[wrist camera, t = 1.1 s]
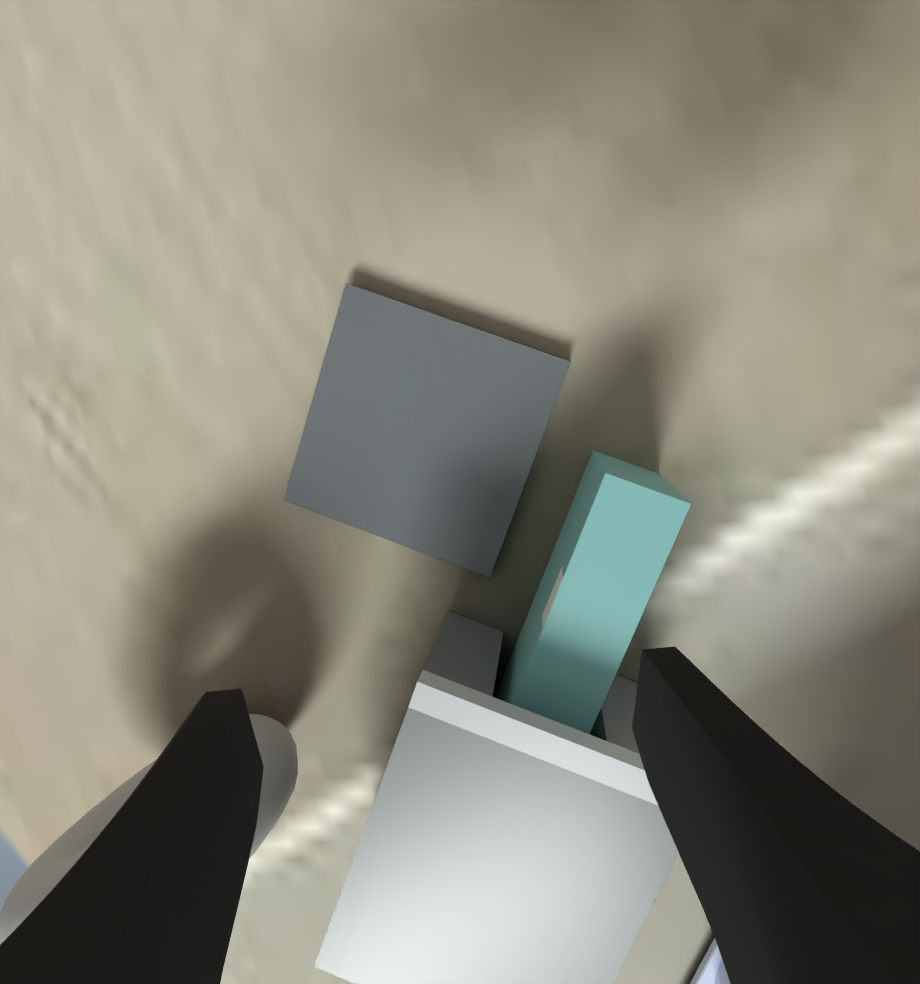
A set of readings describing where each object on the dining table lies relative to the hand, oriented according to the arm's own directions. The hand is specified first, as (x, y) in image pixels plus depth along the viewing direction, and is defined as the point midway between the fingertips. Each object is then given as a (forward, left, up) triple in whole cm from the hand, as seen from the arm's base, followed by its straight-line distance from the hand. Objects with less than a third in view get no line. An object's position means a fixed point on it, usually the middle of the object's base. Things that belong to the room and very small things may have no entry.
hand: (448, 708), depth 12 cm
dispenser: (-3, +7, -12) cm, 14 cm away
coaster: (+4, -3, -12) cm, 13 cm away
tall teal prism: (-3, +1, -12) cm, 12 cm away
